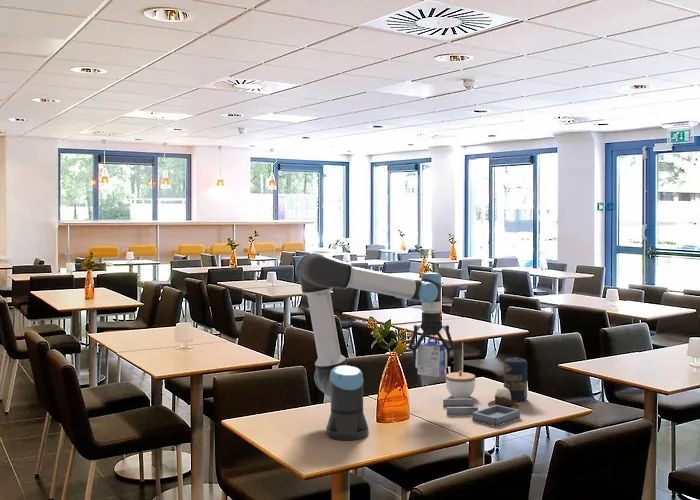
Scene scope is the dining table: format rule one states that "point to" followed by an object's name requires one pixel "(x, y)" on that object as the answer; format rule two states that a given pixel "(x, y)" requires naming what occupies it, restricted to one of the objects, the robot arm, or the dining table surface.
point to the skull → (503, 399)
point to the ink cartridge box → (431, 359)
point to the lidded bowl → (460, 384)
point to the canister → (516, 378)
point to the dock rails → (459, 406)
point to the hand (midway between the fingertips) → (431, 367)
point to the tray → (495, 415)
